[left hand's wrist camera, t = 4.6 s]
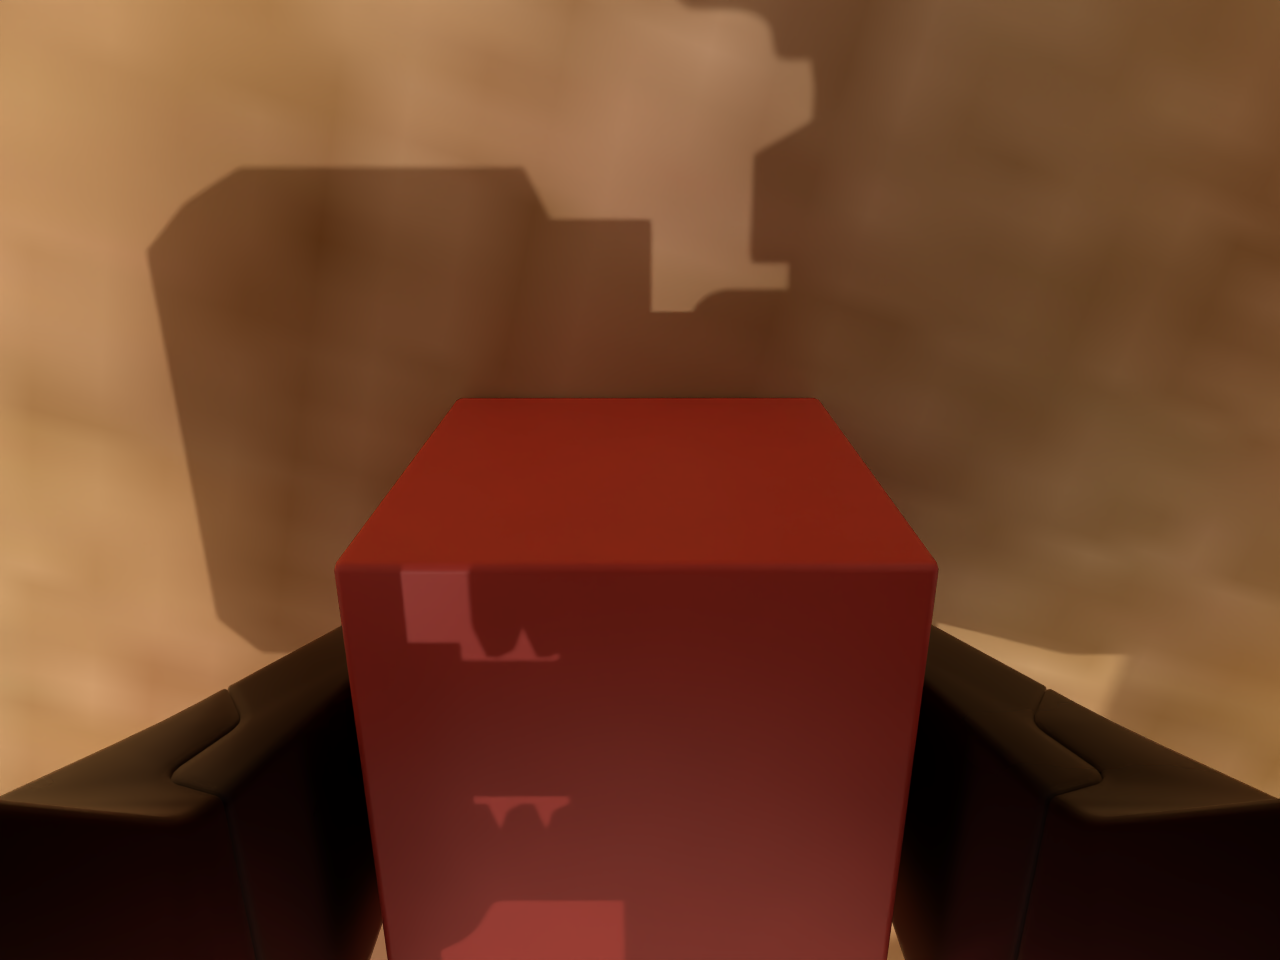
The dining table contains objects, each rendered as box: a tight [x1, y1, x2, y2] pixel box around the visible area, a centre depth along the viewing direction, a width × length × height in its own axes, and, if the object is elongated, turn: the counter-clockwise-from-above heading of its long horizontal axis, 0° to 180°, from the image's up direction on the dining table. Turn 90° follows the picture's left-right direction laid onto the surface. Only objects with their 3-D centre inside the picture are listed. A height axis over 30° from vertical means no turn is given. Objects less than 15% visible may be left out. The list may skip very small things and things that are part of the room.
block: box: [334, 398, 939, 960], centre depth 10 cm, size 5×5×5 cm
